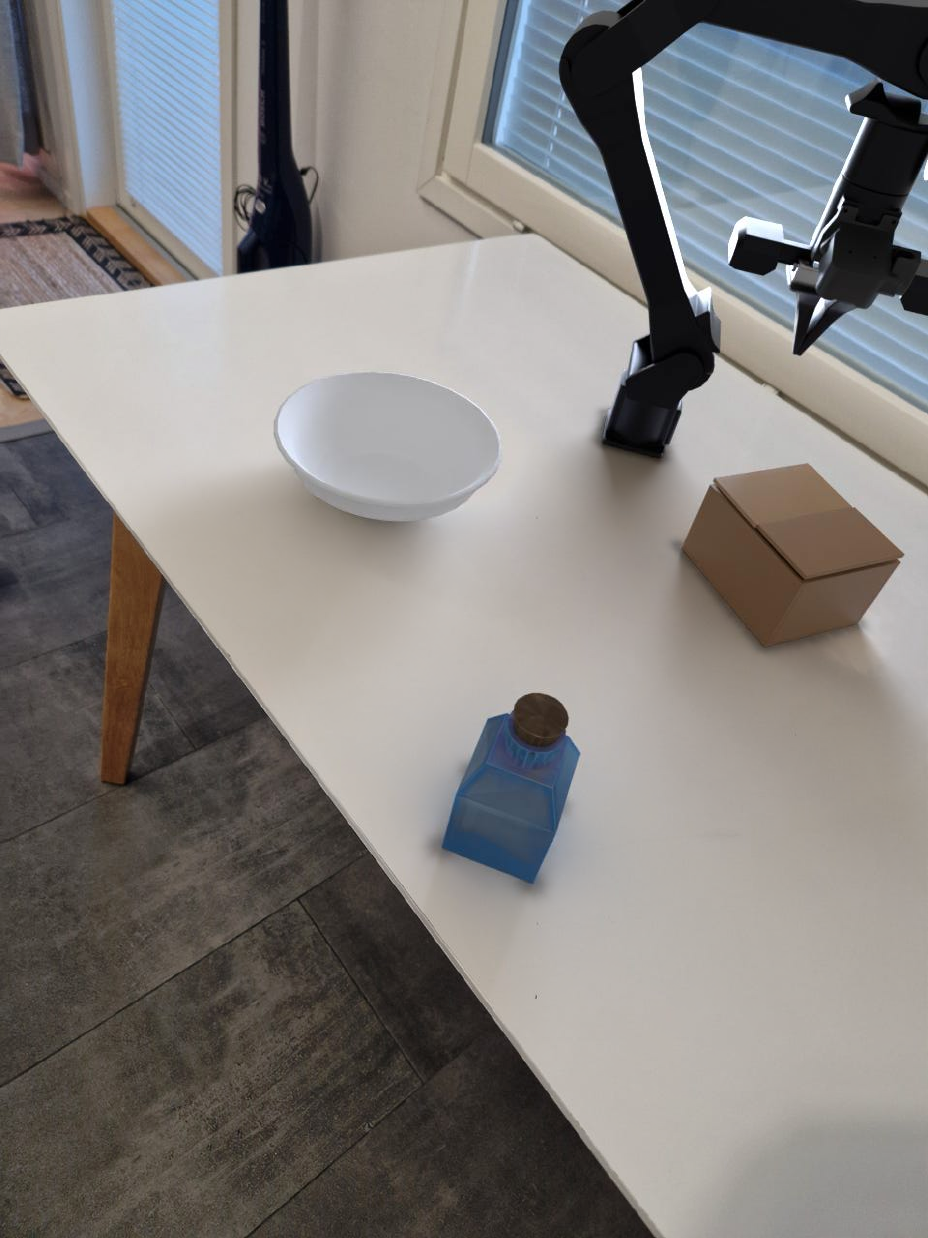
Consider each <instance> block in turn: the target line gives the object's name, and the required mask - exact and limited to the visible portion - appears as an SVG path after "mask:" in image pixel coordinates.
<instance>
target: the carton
mask: <svg viewBox="0 0 928 1238" xmlns="http://www.w3.org/2000/svg"><path fill="white" fill-rule="evenodd" d="M681 550H682V551H683V552H684V553H685V554H686V555H687V556H688V558H689V559H690V560H691V561H692V562H693V563H694V565H695V566H696V567H697V569H698V570H699V571H700V572H701V573H702V575H703V576H704V577H705V578H706V579H707V580H708V581H709V583H710V584H711V585H712V586H713V588H714V589H715V590H716V591H717V592H718V594H720V596H721V598H723V600H724V601H725V602H726V603H727V604H728V606H729V607H730V608H731V609H732V611H734V613H735V614H736V615H737V616H738V618H739V619H740V620H741V621H742V622H743V624H744V625H745V626H746V627H747V628H748V630H749V631H750V632H751V633H752V634H753V635H754V637H755V638H756V639H757V640H758V642H759V643H760V644H761V645H762V646H763V647H764V648H767V647H770V646H771V647H772V646H774V645H775V646H776V645H778V644H783V643H787V642H790V641H794V640H797V639H801V638H805V637H809V636H813V635H817V634H821V633H825V632H829V631H832V630H837V629H841V628H844V627H849V626H852V625H856V624H859V623H860V621H861V620H862V618H863V617H864V616H865V614H866V613H867V611H868V610H869V609H870V607H871V606H872V604H873V603H874V601H875V600H876V598H877V597H878V595H879V594H880V593H881V591H882V590H883V588H884V587H885V586H886V584H887V583H888V581H889V580H890V578H891V577H892V576H893V574H894V572H895V571H896V570H897V568H898V567H899V565H900V564H901V560H900V559H903V557H905V553H904V552H903V551H902V550H901V549H900V547H898V546H896V544H895V543H893V542H892V540H891V539H889V538H888V537H887V536H886V535H885V534H884V533H883V532H882V531H881V530H879V528H878V527H877V526H875V524H873V523H872V522H871V521H870V520H869V519H868V518H867V517H866V516H865V515H864V514H863V513H862V512H861V511H859V510H858V509H857V508H856V507H855V506H852V508H847V509H841V510H836V511H831V512H825V513H820V514H815V515H809V516H804V517H799V518H794V519H788V520H783V521H778V522H772V523H767V524H762V525H758V527H757V528H754V527H753V526H752V525H751V523H750V522H749V521H748V520H747V519H746V518H745V517H744V516H743V515H742V513H741V512H740V511H739V510H738V509H737V508H736V507H735V506H734V504H733V503H732V502H731V501H730V500H729V499H728V498H727V497H726V495H725V494H724V493H723V492H722V491H721V490H720V489H719V488H718V486H717V485H716V484H715V483H712V484H711V483H710V484H709V486H708V488H707V491H706V493H705V495H704V497H703V499H702V501H701V504H700V506H699V509H698V511H697V513H696V515H695V517H694V519H693V522H692V524H691V526H690V528H689V531H688V533H687V535H686V537H685V539H684V542H683V544H682V546H681Z"/></svg>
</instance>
